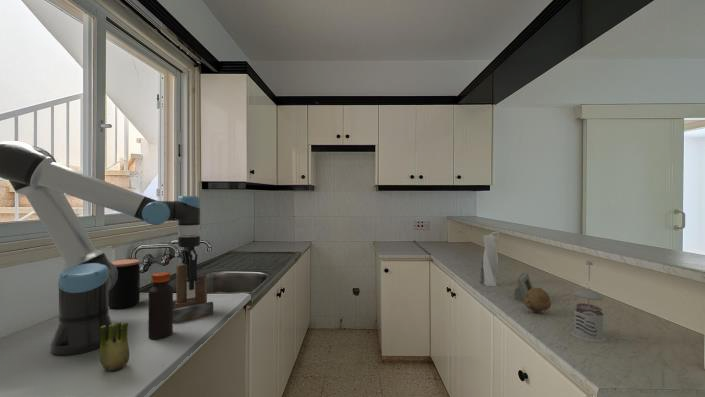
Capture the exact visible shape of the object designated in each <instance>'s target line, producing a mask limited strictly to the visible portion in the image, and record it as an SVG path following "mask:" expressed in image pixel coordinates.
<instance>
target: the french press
mask: <svg viewBox="0 0 705 397" xmlns="http://www.w3.org/2000/svg"><path fill="white" fill-rule="evenodd" d="M585 265H587V266H588V280H590V276H591V275H590V274H591V273H590V272H591V270H590V269H591V266H593V265H594V263H593V262H592V261H591V260H587V261H586V262H585ZM573 293H574V295H572V296H571V295H570V296H569V297H568V298H566V300H565V310H566V312H567V314H568V315H569V316H571V317H572V318H573V329H572V330H571V331H570V334H571V335H572V336H573V337H575V338H577V339H579V340H583V341H586V342H591V343H595V344H596V343H599V344H600V343H601V344H602V343H606V342H607V341H608V340H607V338H606V337H605V336H604V313H603V312H602V311H603V308H602V307H599V306H597V305H593V304H590V300H592V301H601V300H604V299H605V296H603V294H601V293H599V292H597V291H594V290H591V289H590V288H587V289H579V290H576V291H574V292H573ZM578 297H579V298H583V299H586V300H588V302H587V303H583V302H582V303H576V304H575V307H576V308H574V309H573V310H574V313H573V312H572V311H571V310H570V307H569V305H570V300H571V299H572V298H573V299H574V301H577V300H578ZM584 312H585V313H584ZM586 312H588V313H586ZM592 313H593V314H592ZM594 314H595V315H594Z"/></svg>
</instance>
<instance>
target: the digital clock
mask: <svg viewBox="0 0 705 397" xmlns="http://www.w3.org/2000/svg"><path fill="white" fill-rule="evenodd" d="M516 282H517V284H518V285H517V286H516V287H515V289H514V298H513V299H514V300H515V301H516V300H517V301H522V302H524V300H525V297H526V294H527V292H528V291H529V290H530V289H531V288H534V287H533V283H532V281H531V278H530V276H529V273H528V272H525V271H524V272H522V273H521V274H520V275H519V276H518V278H517V279H516Z"/></svg>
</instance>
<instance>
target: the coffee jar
mask: <svg viewBox="0 0 705 397" xmlns="http://www.w3.org/2000/svg"><path fill="white" fill-rule="evenodd" d="M110 262H111V263H113V264H114V265H115V267H116V269H117V272H118V278H117V281H116V284H115V285H114V287H113V288H112V289H111V290H110V291H109V293H108V308H110V309H113V310H124V309H128V308H132V307H134V306H137V305H138V304H139V302H140V301H141V299H140V298H141V296H140V295H141V294H140V292H141V291H140V290H141V288H140V287H141V284H140V283H141V281H140V280H141V279H140V278H141V277H140V275H141V274H140V273H141V271H140V270H141V267H140V265H139V264H140V259H134V258H133V259H132V258H131V259H129V258H128V259H120V260H119V259H118V260H113V261H110Z"/></svg>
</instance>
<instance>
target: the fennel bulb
mask: <svg viewBox="0 0 705 397" xmlns="http://www.w3.org/2000/svg"><path fill="white" fill-rule="evenodd" d="M128 325H129V323H128V322H126V321H124V322H122V321H116V323H112V324H111V325H109V330H108V338H107V329H106V326H105V325H104V326H101V327H100V335H101V343H100V348H99V360H100V364H101V365H102V367H103V369H104V370H106V371H109V372H116V371H119V370H121V369H123V368H124V367H125V366H126V365H127V364H128V362H129V360H130V346H129V343H128V342H129V341H128ZM115 326H116V327H115ZM115 328H116V329H115ZM114 332H115V339H114Z"/></svg>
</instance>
